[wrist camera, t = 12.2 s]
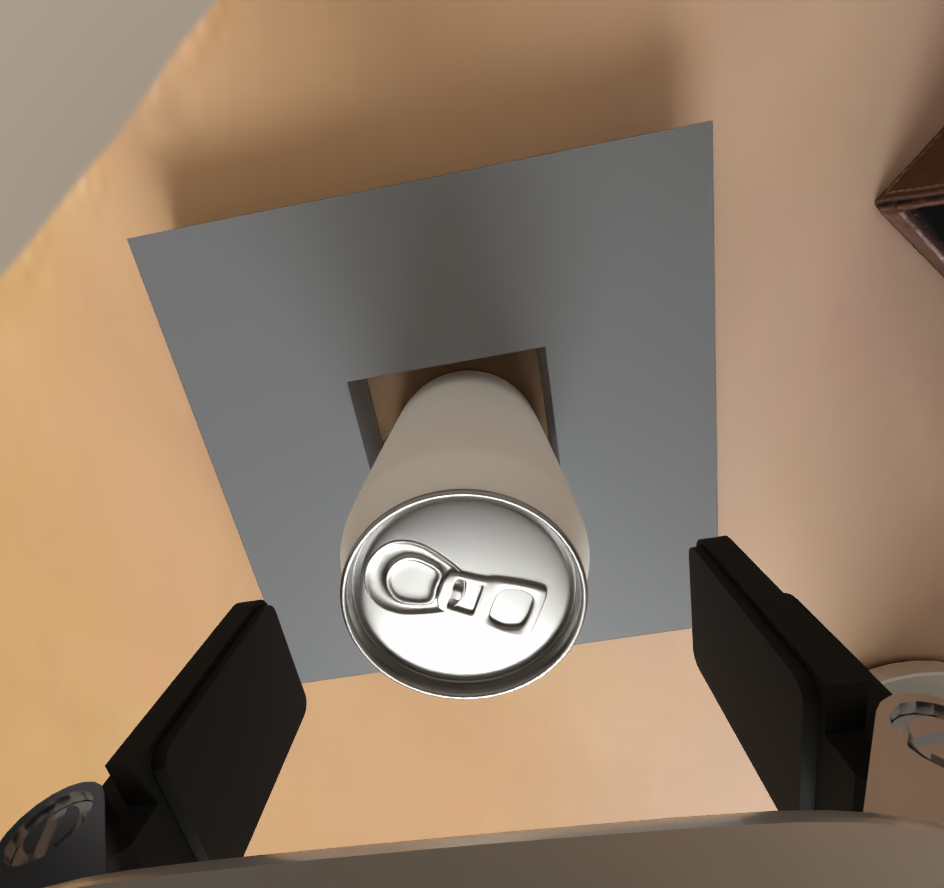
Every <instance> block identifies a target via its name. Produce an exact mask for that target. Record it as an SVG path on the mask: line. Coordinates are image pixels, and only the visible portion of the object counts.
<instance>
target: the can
mask: <svg viewBox="0 0 944 888" xmlns="http://www.w3.org/2000/svg"><path fill="white" fill-rule="evenodd" d="M340 563H341V572H342V576H341V582H340V605H341V611H342V616H343V619H344V623H345V625H346V628H347V630H348V632H349V635H350V637H351V638H352V640H353V642H354V643H355V645H356V646H357V648H358V649H359V651H360V652H361V653H362V654H363V656H364V657H365V658H366V659H367V660H368V661H369V662H370V663H371V664H372V665H373V666H374V667H375V668H377V669H378V670H379V671H380V672H382V673H383V674H384V675H386V676H387V677H389V678H390V679H392V680H394V681H395V682H397V683H399V684H401V685H403V686H405V687H407V688H410V689H412V690H415V691H418V692H421V693H424V694H427V695H431V696H436V697H442V698H449V699H481V698H488V697H493V696H498V695H502V694H506V693H509V692H512V691H515V690H517V689H520V688H522V687H524V686H526V685H528V684H530V683H532V682H534V681H536V680H537V679H539V678H540V677H542V676H543V675H545V674H546V673H548V672H549V671H550V670H551V669H552V668H554V667H555V666H556V665H557V664H558V663H559V662H560V661H561V660H562V659H563V658H564V657H565V655H566V654H567V653H568V652H569V650H570V649H571V647H572V646H573V644H574V643H575V641H576V639H577V637H578V635H579V633H580V631H581V629H582V626H583V623H584V620H585V616H586V612H587V605H588V585H587V578H588V573H589V564H590V550H589V542H588V537H587V532H586V528H585V525H584V522H583V519H582V516H581V513H580V511H579V508H578V506H577V503H576V501H575V499H574V497H573V494H572V492H571V490H570V487H569V485H568V483H567V481H566V479H565V476H564V474H563V472H562V470H561V468H560V465H559V463H558V461H557V459H556V457H555V455H554V452H553V450H552V448H551V446H550V444H549V442H548V439H547V437H546V435H545V433H544V431H543V429H542V427H541V425H540V422H539V420H538V418H537V416H536V414H535V412H534V410H533V409H532V407H531V405H530V404H529V402H528V401H527V399H526V398H525V397H524V396H523V394H522V393H521V392H520V391H519V390H518V389H516V388H515V387H514V386H513V385H512V384H510V383H509V382H507V381H505V380H504V379H502V378H500V377H497V376H495V375H492V374H489V373H485V372H480V371H457V372H451V373H448V374H444V375H442V376H439V377H437V378H435V379H433V380H431V381H430V382H428V383H427V384H425V385H424V386H423V387H421V388H420V389H419V390H418V391H417V392H416V393H415V394H414V395H413V396H412V397H411V399H410V400H409V401H408V402H407V404H406V405H405V407H404V409H403V411H402V412H401V414H400V416H399V418H398V419H397V421H396V423H395V425H394V427H393V429H392V431H391V432H390V434H389V436H388V438H387V440H386V442H385V444H384V446H383V448H382V449H381V451H380V453H379V455H378V457H377V459H376V461H375V463H374V465H373V467H372V468H371V470H370V472H369V474H368V476H367V478H366V480H365V482H364V484H363V486H362V488H361V490H360V492H359V494H358V496H357V498H356V500H355V502H354V504H353V506H352V509H351V511H350V513H349V516H348V518H347V521H346V524H345V528H344V532H343V536H342V541H341V549H340Z"/></svg>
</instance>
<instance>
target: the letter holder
mask: <svg viewBox="0 0 944 888" xmlns="http://www.w3.org/2000/svg"><path fill="white" fill-rule="evenodd" d="M875 205H876V207H877V208H878V209H879V210H880V212H881V213H882V214H883V215H884V216H885V217H886V218H887V219H888V220H889V221H890V222H891V223H892V225H893V226H894V227H895V228H896V229H897V230H898V231H899V232H900V233H901V234H902V235H903V236H904V237H905V238H906V239H907V240H908V241H909V242H910V243H911V244H912V245H913V247H914V248H916V249H917V250H918V251H919V253H920V254H921V255H923V256H924V257H925V258H926V259H927V260H928V261H929V262H930V263H931V264H932V266H933V267H934V268H935V269H937V270H938V271H939V273H940V274H941V275H942V276H943V277H944V127H943V129H942V130H941V131H940V132H939V133H938V134H937V135H936V136H935V137H934V138H933V140H932V141H931V142H930V143H929V144H928V145H927V146H926V147H925V148H924V149H923V150H922V152H921V153H920V154H919V155H918V156H917V157H916V158H915V160H914V161H913V162H912V163H911V164H910V165H909V166H908V167H907V168H906V169H905V170H904V171H903V172H902V173H901V174H900V175H899V176H898V177H897V179H896V180H895V181H894V182H893V183H892V184H891V185H890V186H889V187H888V188H887V189H886V190H885V191H884V192H883V194H882V195H881V196H880V197H879V198H878V199H877V200H876V201H875Z"/></svg>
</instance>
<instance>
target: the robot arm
mask: <svg viewBox="0 0 944 888" xmlns="http://www.w3.org/2000/svg"><path fill="white" fill-rule="evenodd" d="M689 572H690V592H691V613H692V634H693V651H694V656H695V660H696V663H697V666H698V668H699V670H700V671H701V673H702V675H703V677H704V679H705V680H706V682H707V684H708V686H709V688H710V689H711V691H712V693H713V695H714V697H715V698H716V700H717V702H718V704H719V706H720V707H721V709H722V711H723V713H724V714H725V716H726V718H727V720H728V722H729V723H730V725H731V727H732V729H733V731H734V732H735V734H736V736H737V738H738V740H739V741H740V743H741V745H742V747H743V749H744V750H745V752H746V754H747V756H748V757H749V759H750V761H751V763H752V765H753V766H754V768H755V770H756V772H757V774H758V775H759V777H760V779H761V781H762V783H763V784H764V786H765V788H766V790H767V791H768V793H769V795H770V797H771V799H772V800H773V802H774V804H775V806H776V808H777V809H778V811H766V812H751V813H736V814H721V815H706V816H691V817H676V818H663V819H651V820H640V821H628V822H616V823H605V824H593V825H581V826H569V827H558V828H546V829H534V830H523V831H512V832H501V833H490V834H479V835H468V836H457V837H445V838H434V839H424V840H413V841H402V842H391V843H381V844H370V845H359V846H348V847H338V848H328V849H318V850H308V851H298V852H288V853H277V854H267V855H257V856H247V857H243V856H244V854H245V851H246V849H247V847H248V844H249V842H250V840H251V838H252V835H253V833H254V831H255V828H256V826H257V824H258V821H259V819H260V817H261V814H262V812H263V810H264V807H265V805H266V803H267V800H268V798H269V796H270V794H271V791H272V789H273V787H274V784H275V782H276V780H277V777H278V775H279V773H280V770H281V768H282V766H283V763H284V761H285V759H286V756H287V754H288V752H289V749H290V747H291V745H292V743H293V740H294V738H295V736H296V733H297V731H298V729H299V726H300V724H301V722H302V719H303V717H304V714H305V711H306V696H305V693H304V690H303V687H302V684H301V681H300V678H299V676H298V673H297V670H296V667H295V664H294V661H293V659H292V656H291V653H290V650H289V647H288V644H287V642H286V639H285V636H284V633H283V630H282V627H281V625H280V622H279V619H278V616H277V613H276V611H275V609H274V607H273V606H271V605H268V604H267V603H266V602H265V601H264V600H256V601H249V602H241V603H237V604H235V605H234V606H233V607H232V609H231V610H230V611H229V612H228V613H227V615H226V616H225V617H224V618H223V620H222V621H221V622H220V623H219V625H218V626H217V627H216V628H215V630H214V631H213V632H212V633H211V635H210V636H209V637H208V638H207V640H206V641H205V642H204V643H203V645H202V646H201V647H200V648H199V650H198V651H197V652H196V653H195V654H194V656H193V657H192V658H191V659H190V661H189V662H188V663H187V664H186V666H185V667H184V668H183V669H182V671H181V672H180V673H179V674H178V676H177V677H176V678H175V679H174V681H173V682H172V683H171V684H170V686H169V687H168V688H167V689H166V691H165V692H164V693H163V694H162V695H161V697H160V698H159V699H158V700H157V702H156V703H155V704H154V705H153V707H152V708H151V709H150V710H149V712H148V713H147V714H146V715H145V717H144V718H143V719H142V720H141V722H140V723H139V724H138V725H137V727H136V728H135V729H134V730H133V732H132V733H131V734H130V735H129V736H128V738H127V739H126V740H125V741H124V743H123V744H122V745H121V746H120V748H119V749H118V750H117V751H116V753H115V754H114V755H113V756H112V758H111V759H110V760H109V761H108V763H107V764H106V765H105V767H106V769H107V770H108V772H109V774H110V777H109V778H108V779H107V781H106V782H105V783H104V784H103V786H102V785H100V784H98V783H96V782H81V783H78V784H75V785H71V786H68V787H66V788H64V789H62V790H60V791H58V792H56V793H54V794H52V795H51V796H49V797H48V798H46V799H45V800H43V801H42V802H40V803H39V804H37V805H36V806H35V807H33V808H32V809H31V810H30V811H29V812H27V813H26V814H25V815H24V816H23V817H21V818H20V819H19V820H18V821H17V822H16V823H15V824H14V825H13V827H12V828H11V829H10V830H9V831H8V832H7V833H6V834H5V836H4V837H3V838H2V840H1V841H0V888H944V662H940V661H907V662H899V663H892V664H887V665H883V666H880V667H876V668H873V669H869V670H868V669H867V668H866V667H865V666H864V665H863V664H862V663H861V662H860V661H859V660H858V659H857V658H856V657H855V656H854V655H853V654H852V653H851V652H850V651H849V650H848V649H847V648H846V647H845V646H844V645H843V644H842V643H841V642H840V641H839V640H838V639H837V638H836V637H835V636H834V635H833V634H832V633H831V632H830V631H829V630H828V629H827V628H826V627H825V626H824V625H823V624H822V623H821V622H820V621H819V620H818V619H817V618H816V617H815V616H814V615H813V614H812V613H811V612H810V611H809V610H808V609H807V608H806V607H805V606H804V605H803V604H802V603H801V602H800V601H799V600H798V599H796V598H795V597H794V596H792V595H791V594H787V593H783V592H782V591H781V590H780V589H779V588H778V587H777V586H776V585H775V584H774V583H773V582H772V581H771V580H770V579H769V578H768V577H767V576H766V575H765V574H764V573H763V572H762V571H761V570H760V568H759V567H758V566H757V565H756V564H755V563H754V562H753V561H752V560H751V559H750V558H749V557H748V556H747V555H746V554H745V553H744V552H743V551H742V550H741V549H740V548H739V547H738V546H737V545H736V544H735V543H734V542H733V541H732V540H731V539H730V538H729V537H728V536H720V537H713V538H705V539H699V540H698V541H697V544H696V547H691V548H690V549H689Z"/></svg>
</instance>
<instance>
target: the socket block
mask: <svg viewBox="0 0 944 888" xmlns="http://www.w3.org/2000/svg"><path fill="white" fill-rule="evenodd" d="M127 240H128V243H129V246H130V248H131V251H132V254H133V256H134V259H135V262H136V264H137V267H138V269H139V272H140V275H141V277H142V280H143V283H144V285H145V288H146V290H147V293H148V296H149V298H150V301H151V304H152V306H153V309H154V312H155V314H156V317H157V319H158V322H159V325H160V327H161V330H162V333H163V335H164V338H165V341H166V343H167V346H168V348H169V351H170V354H171V356H172V359H173V362H174V364H175V367H176V369H177V372H178V375H179V377H180V380H181V383H182V385H183V388H184V391H185V393H186V396H187V398H188V401H189V404H190V406H191V409H192V412H193V414H194V417H195V419H196V422H197V425H198V427H199V430H200V433H201V435H202V438H203V441H204V443H205V446H206V448H207V451H208V454H209V456H210V459H211V462H212V464H213V467H214V470H215V472H216V475H217V477H218V480H219V483H220V485H221V488H222V491H223V493H224V496H225V498H226V501H227V504H228V506H229V509H230V512H231V514H232V517H233V520H234V522H235V525H236V527H237V530H238V533H239V535H240V538H241V541H242V543H243V546H244V548H245V551H246V554H247V556H248V559H249V562H250V564H251V567H252V570H253V572H254V575H255V577H256V580H257V583H258V585H259V588H260V591H261V593H262V596H263V598H264V601H265V602H266V603H267V604H268V605H271V606H273V607H274V609H275V611H276V613H277V616H278V619H279V622H280V625H281V627H282V630H283V633H284V636H285V639H286V642H287V644H288V647H289V650H290V653H291V656H292V659H293V661H294V664H295V667H296V670H297V673H298V676H299V678H300V681H301V683H307V682H314V681H321V680H328V679H335V678H342V677H349V676H357V675H364V674H371V673H378V672H380V671H379V670H378V669H377V668H375V667H374V666H373V665H372V664H371V663H370V662H369V661H368V660H367V659H366V658H365V657H364V656H363V654H362V653H361V652H360V651H359V649H358V648H357V646H356V645H355V643H354V642H353V640H352V638H351V637H350V635H349V632H348V630H347V628H346V625H345V623H344V619H343V616H342V611H341V605H340V582H341V576H342V572H341V563H340V549H341V541H342V536H343V532H344V528H345V524H346V521H347V518H348V516H349V513H350V511H351V509H352V506H353V504H354V502H355V500H356V498H357V496H358V494H359V492H360V490H361V488H362V486H363V484H364V482H365V480H366V478H367V476H368V474H369V472H370V470H371V468H372V467H373V465H374V463H375V461H376V459H377V457H378V455H379V453H380V451H381V449H382V448H383V442H382V439H381V435H380V431H379V427H378V423H377V419H376V415H375V411H374V407H373V403H372V399H371V395H370V391H369V387H368V383H367V379H366V378H372V377H378V376H383V375H389V374H395V373H400V372H406V371H411V370H417V369H423V368H428V367H434V366H439V365H445V364H451V363H456V362H462V361H467V360H473V359H479V358H484V357H490V356H495V355H501V354H507V353H512V352H518V351H524V350H529V349H535V348H537V352H538V360H539V367H540V375H541V383H542V390H543V398H544V405H545V413H546V420H547V428H548V435H549V443H550V446H551V448H552V450H553V452H554V455H555V457H556V459H557V461H558V463H559V465H560V468H561V470H562V472H563V474H564V476H565V479H566V481H567V483H568V485H569V487H570V490H571V492H572V494H573V497H574V499H575V501H576V503H577V506H578V508H579V511H580V513H581V516H582V519H583V522H584V525H585V528H586V532H587V537H588V542H589V550H590V564H589V573H588V578H587V585H588V605H587V612H586V616H585V620H584V623H583V626H582V629H581V631H580V633H579V635H578V637H577V639H576V641H575V643H574V644H573V645H576V644H583V643H590V642H597V641H605V640H612V639H619V638H626V637H633V636H640V635H647V634H654V633H661V632H668V631H675V630H683V629H690V628H692V613H691V592H690V572H689V549H690V548H691V547H696V544H697V541H698V540H699V539H705V538H713V537H718V504H717V427H716V351H715V274H714V198H713V121H708V122H703V123H698V124H693V125H688V126H683V127H678V128H673V129H668V130H664V131H659V132H654V133H649V134H644V135H639V136H634V137H629V138H624V139H619V140H614V141H609V142H604V143H599V144H594V145H589V146H584V147H579V148H574V149H569V150H565V151H560V152H555V153H550V154H545V155H540V156H535V157H530V158H525V159H520V160H515V161H510V162H505V163H500V164H495V165H490V166H485V167H480V168H475V169H470V170H466V171H461V172H456V173H451V174H446V175H441V176H436V177H431V178H426V179H421V180H416V181H411V182H406V183H401V184H396V185H391V186H386V187H381V188H376V189H371V190H367V191H362V192H357V193H352V194H347V195H342V196H337V197H332V198H327V199H322V200H317V201H312V202H307V203H302V204H297V205H292V206H287V207H282V208H277V209H272V210H268V211H263V212H258V213H253V214H248V215H243V216H238V217H233V218H228V219H223V220H218V221H213V222H208V223H203V224H198V225H193V226H188V227H183V228H178V229H173V230H168V231H164V232H159V233H154V234H149V235H144V236H139V237H134V238H129V239H127Z"/></svg>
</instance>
